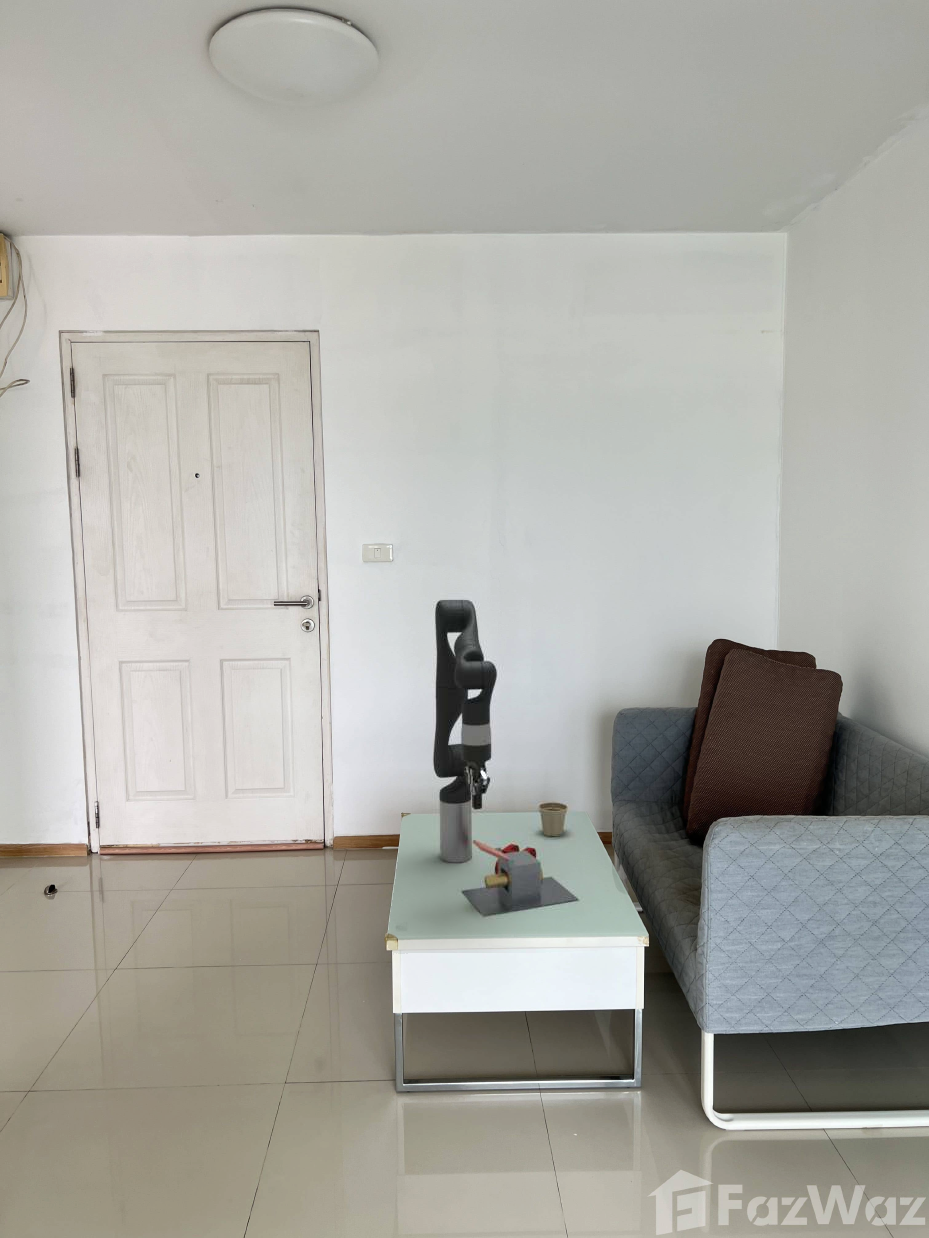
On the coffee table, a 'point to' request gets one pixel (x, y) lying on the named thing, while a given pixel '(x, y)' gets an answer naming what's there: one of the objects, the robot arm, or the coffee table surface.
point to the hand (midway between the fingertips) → (476, 808)
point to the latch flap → (491, 851)
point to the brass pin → (500, 880)
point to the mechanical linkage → (514, 848)
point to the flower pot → (552, 817)
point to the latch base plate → (519, 888)
